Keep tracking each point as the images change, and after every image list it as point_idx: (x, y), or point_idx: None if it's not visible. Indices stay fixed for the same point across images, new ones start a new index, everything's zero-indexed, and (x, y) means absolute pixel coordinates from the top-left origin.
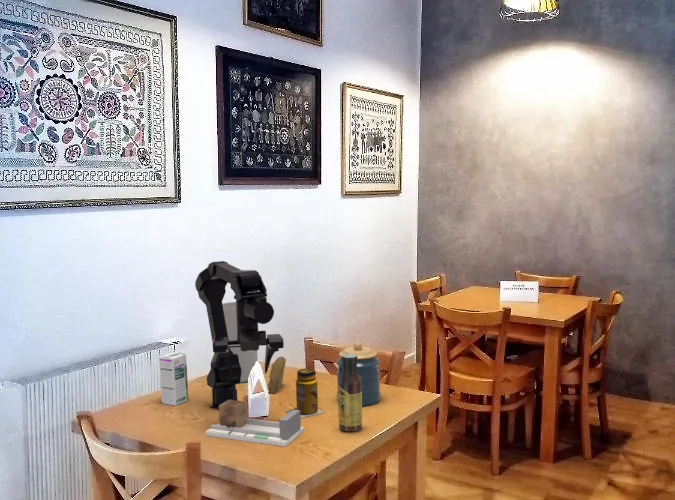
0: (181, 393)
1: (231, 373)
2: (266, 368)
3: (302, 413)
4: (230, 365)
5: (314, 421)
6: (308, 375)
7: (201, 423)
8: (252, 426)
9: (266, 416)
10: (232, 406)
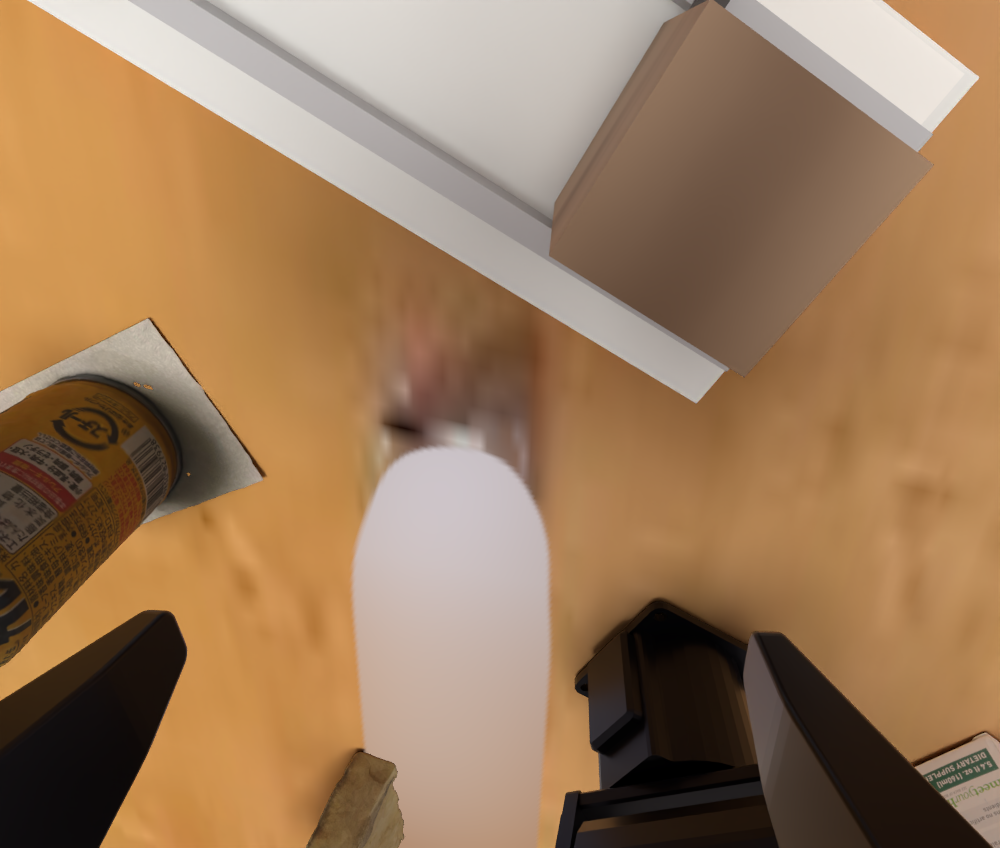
0: (967, 820)
1: (783, 660)
2: (84, 667)
3: (126, 394)
4: (890, 824)
5: (7, 227)
6: None
7: (905, 393)
8: (497, 129)
9: (392, 419)
10: (750, 58)
